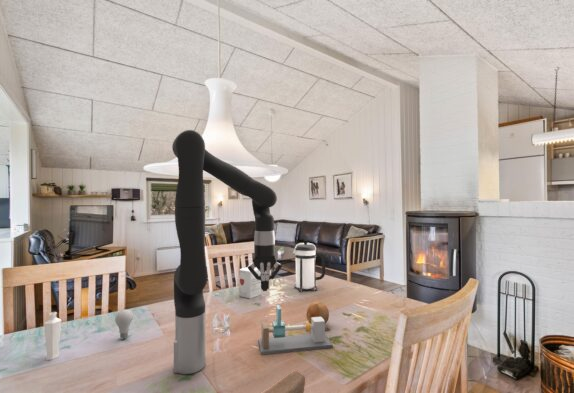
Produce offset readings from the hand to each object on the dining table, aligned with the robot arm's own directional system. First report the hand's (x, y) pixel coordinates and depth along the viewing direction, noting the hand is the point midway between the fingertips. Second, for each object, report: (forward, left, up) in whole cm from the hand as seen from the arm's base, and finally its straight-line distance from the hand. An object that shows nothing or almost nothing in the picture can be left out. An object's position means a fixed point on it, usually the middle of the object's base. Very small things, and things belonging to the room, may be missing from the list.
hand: (264, 290), depth 108 cm
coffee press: (+33, +66, -21) cm, 77 cm away
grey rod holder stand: (+11, 0, -21) cm, 23 cm away
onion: (+24, +14, -21) cm, 35 cm away
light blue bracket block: (+5, 0, -17) cm, 17 cm away
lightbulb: (-53, +17, -21) cm, 59 cm away
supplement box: (-2, +60, -21) cm, 64 cm away
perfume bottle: (-72, +7, -21) cm, 75 cm away
